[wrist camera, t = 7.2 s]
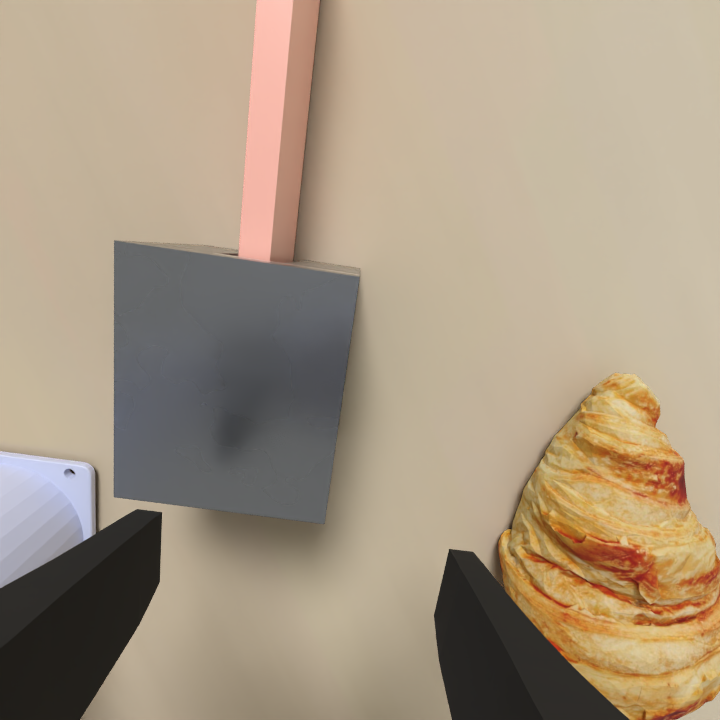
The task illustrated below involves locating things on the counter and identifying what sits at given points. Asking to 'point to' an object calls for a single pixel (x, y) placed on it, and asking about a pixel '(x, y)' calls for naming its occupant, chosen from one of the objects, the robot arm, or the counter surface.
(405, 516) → the counter surface
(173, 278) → the grey cube
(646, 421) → the croissant
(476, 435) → the counter surface
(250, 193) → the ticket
